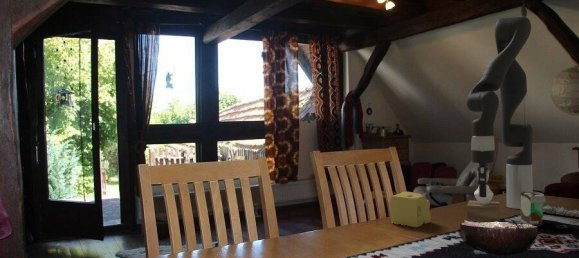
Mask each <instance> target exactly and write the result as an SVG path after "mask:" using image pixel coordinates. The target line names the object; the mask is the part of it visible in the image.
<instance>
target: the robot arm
mask: <svg viewBox="0 0 579 258" xmlns="http://www.w3.org/2000/svg"><path fill="white" fill-rule="evenodd" d="M531 31H532V23H531V20H530V19H529V18H528V17H526V16H514V17H513V16H512V17H511V16H510V17H502V18H498V20H497V21H496V22H495V27H494V38H495V46H496V52H497V55H496V56H494V57H493V58H492V59H491V60H490V61H489V62H488V64H487V65H486V67H485V69H484V72H483V74H482V76H481V78H480V80H479V81H477V83H476V84H475V86H473V88H472V89H471V90H470V92H469V93H468V95H467V98H466V107H467V108H468V109H467V110H469V111H471V112H472V113H481V116H480V117H479V118H476V119H474V120H472V122H471V142H470V149H471V152H470V153H471V156H470V157H471V158H470V159H471V162H472V163H476V164H478V167H476V174H477V176H476V177H477V181H478V182H477V185H478V186H479V196H480V197H486V186H487V185H488V181H489V179H490V175H489V174H490V167H488V166H489V165H488V164H493V163H495V162H496V157H495V156H496V153H495V152H496V151H495V148H496V144H495V136H494V135H495V134H494V133H495V132H494V131H495V129H494V126H495V125H494V124H495V120H496V117H497V113H498V109H499V108H500V106H499V105H501V141H502V144H503V146H504V147H509V148H522V150H521V151H519V152H517V153H515V154H512V155H509V156H507V157H506V158H505V161H506V162H505V163H506V165H505V168H506V169H505V170H506V171H505V173H506V178H505V179H506V181H505V182H506V183H505V184H506V187H505V188H506V207H507V208H510V209H515V210H516V209H517V210H521V205H520V191H531V192H534V191H533V184H534V182H533V143H534V142H533V141H534V132H533V126H532V124H531V123H512V122H511V121H512V118H513V116H514V114H515V111H517V109H518V107H520V105H521V103H523V101H524V99H525V97H526V96H527V93H528V86H527V85H528V84H527V83H528V81H527V74H526V71H524V69H523V67H522V66H521V65H520V63H519V61H517V59H516V58H517V56H518V55H519V54H520V52H521V51H522V49H523V47H524V45H525V44H526V43H527V41H528V39H529V37H530V34H531ZM496 91H500V92H499V94H500V100H499V95H498V94H497V93H496ZM500 103H501V104H500Z"/></svg>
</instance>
